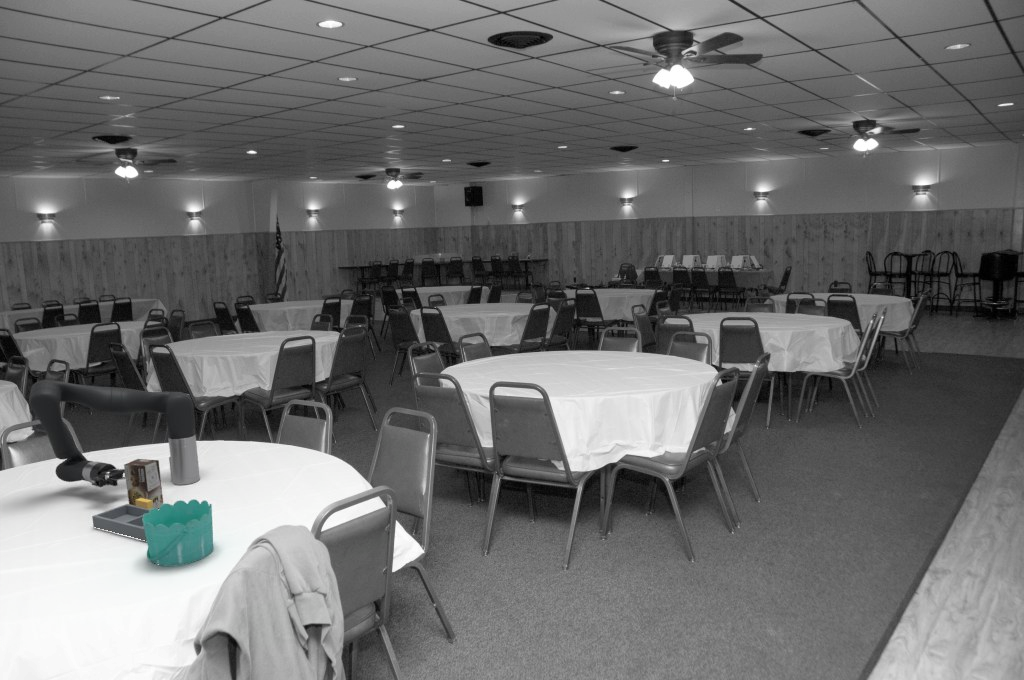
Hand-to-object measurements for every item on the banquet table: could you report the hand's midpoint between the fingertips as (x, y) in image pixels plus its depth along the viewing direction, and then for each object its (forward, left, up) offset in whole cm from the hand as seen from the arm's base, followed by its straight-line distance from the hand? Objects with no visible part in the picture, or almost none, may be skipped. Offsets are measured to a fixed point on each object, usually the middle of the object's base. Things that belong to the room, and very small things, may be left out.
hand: (128, 479), depth 265 cm
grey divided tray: (+24, -12, -9) cm, 28 cm away
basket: (+52, -20, -9) cm, 57 cm away
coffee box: (+8, 0, -9) cm, 13 cm away
